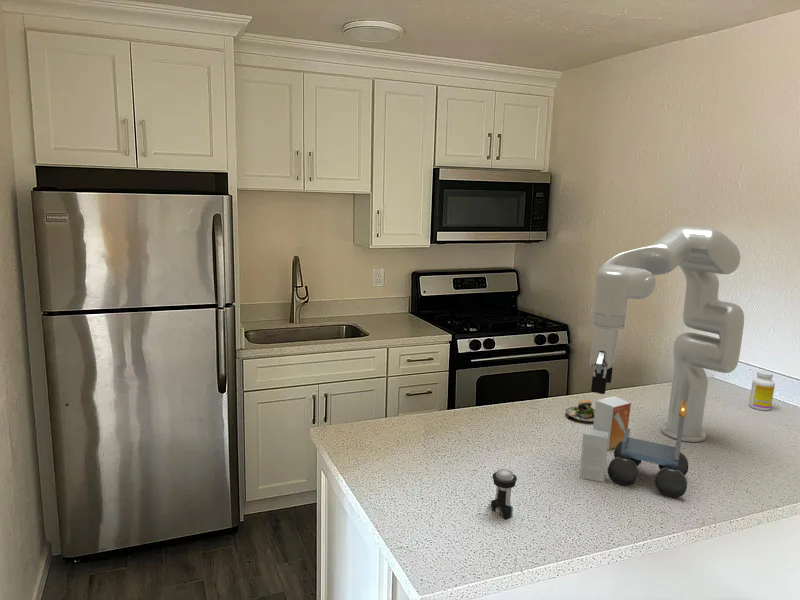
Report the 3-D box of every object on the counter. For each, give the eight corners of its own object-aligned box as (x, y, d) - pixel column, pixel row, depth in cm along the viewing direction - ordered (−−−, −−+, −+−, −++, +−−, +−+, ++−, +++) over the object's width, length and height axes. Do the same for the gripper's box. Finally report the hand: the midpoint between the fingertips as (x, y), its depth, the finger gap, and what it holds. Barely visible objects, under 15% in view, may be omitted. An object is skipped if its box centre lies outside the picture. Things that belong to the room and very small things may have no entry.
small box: (608, 450, 169) (613, 407, 166) (590, 442, 174) (595, 400, 171) (626, 444, 173) (631, 402, 171) (608, 436, 178) (613, 395, 176)
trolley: (613, 461, 162) (622, 386, 158) (686, 478, 154) (697, 399, 150) (606, 482, 150) (615, 401, 146) (684, 501, 142) (696, 417, 138)
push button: (480, 509, 135) (483, 468, 133) (496, 502, 138) (499, 462, 136) (502, 523, 130) (505, 480, 128) (518, 515, 133) (522, 474, 131)
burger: (562, 420, 190) (564, 398, 188) (567, 409, 200) (570, 387, 199) (601, 428, 185) (604, 405, 184) (605, 415, 196) (607, 394, 194)
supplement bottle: (774, 411, 205) (780, 376, 203) (755, 410, 205) (761, 375, 203) (763, 404, 212) (769, 370, 209) (744, 403, 212) (750, 369, 209)
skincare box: (604, 475, 154) (609, 432, 151) (603, 482, 150) (608, 438, 147) (580, 470, 156) (584, 427, 153) (578, 477, 152) (583, 433, 150)
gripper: (598, 312, 154) (591, 375, 157) (586, 324, 139) (579, 394, 142) (629, 315, 151) (621, 380, 154) (619, 329, 135) (612, 400, 139)
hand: (601, 387), depth 148 cm, fingers open, 9 cm apart
